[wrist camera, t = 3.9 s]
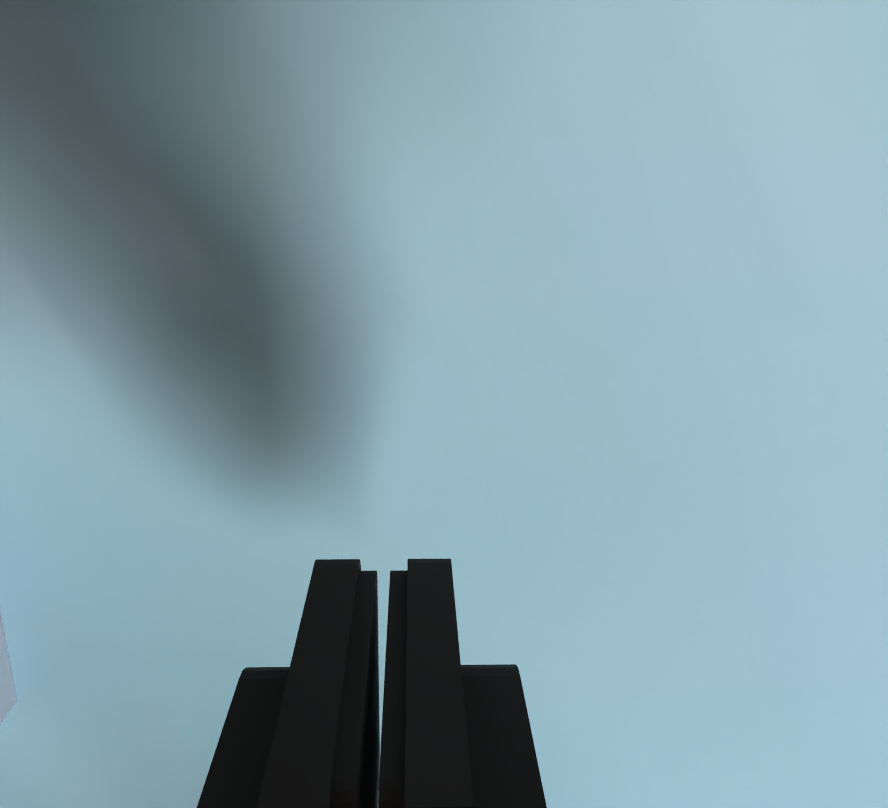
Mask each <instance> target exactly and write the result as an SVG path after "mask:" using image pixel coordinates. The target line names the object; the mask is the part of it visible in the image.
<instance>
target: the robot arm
mask: <svg viewBox="0 0 888 808" xmlns="http://www.w3.org/2000/svg"><path fill="white" fill-rule="evenodd" d="M379 763H380V773H379ZM378 790H379V798H378ZM197 808H547V807H546V802H545V797H544V792H543V787H542V782H541V777H540V772H539V767H538V762H537V758H536V753H535V748H534V743H533V738H532V733H531V728H530V723H529V718H528V713H527V708H526V703H525V698H524V693H523V688H522V683H521V678H520V674H519V670H518V667H517V666H516V665H461V664H460V653H459V642H458V631H457V620H456V609H455V599H454V588H453V577H452V566H451V559H408V571H390V588H389V606H388V625H387V643H386V662H385V680H384V699H383V718H382V736H381V755H380V741H379V668H378V596H377V571H361V564H360V559H332V560H315V563H314V567H313V572H312V576H311V580H310V584H309V589H308V593H307V597H306V601H305V605H304V610H303V614H302V618H301V622H300V626H299V631H298V635H297V639H296V643H295V648H294V652H293V656H292V660H291V664H290V667H251V668H245V669H244V670H243V671H242V673H241V676H240V678H239V681H238V684H237V687H236V690H235V693H234V696H233V699H232V702H231V705H230V708H229V711H228V714H227V717H226V720H225V723H224V726H223V729H222V732H221V735H220V739H219V742H218V745H217V748H216V751H215V754H214V757H213V760H212V763H211V766H210V769H209V772H208V775H207V778H206V781H205V784H204V787H203V790H202V794H201V797H200V800H199V803H198V806H197Z"/></svg>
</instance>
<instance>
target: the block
mask: <svg viewBox="0 0 888 808" xmlns="http://www.w3.org/2000/svg"><path fill="white" fill-rule="evenodd" d="M16 702H17V698H16V692H15V686H14V681H13V675H12V670H11V664H10V658H9V653H8V647H7V642H6V636H5V630H4V625H3V619H2V613H1V608H0V724H1V723H2V721H3V720H4V719H5V717H6V716H7V714H8V713H9V712H10V710H11V709H12V707H13V706H14V705H15V703H16Z"/></svg>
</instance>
